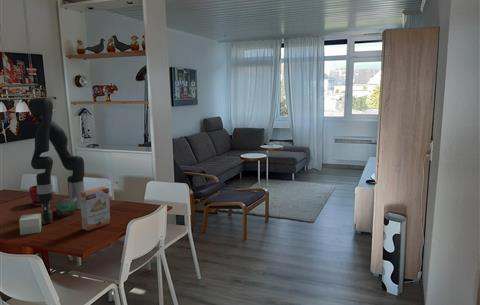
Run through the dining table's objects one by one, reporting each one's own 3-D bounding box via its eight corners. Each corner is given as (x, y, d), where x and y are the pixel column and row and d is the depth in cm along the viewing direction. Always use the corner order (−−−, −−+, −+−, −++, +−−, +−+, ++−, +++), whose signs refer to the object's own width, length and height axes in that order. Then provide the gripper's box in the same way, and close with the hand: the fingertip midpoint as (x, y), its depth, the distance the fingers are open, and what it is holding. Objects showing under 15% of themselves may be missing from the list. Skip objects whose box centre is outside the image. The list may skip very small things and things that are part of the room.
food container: (55, 218, 210) (54, 202, 208) (55, 215, 215) (54, 199, 213) (78, 215, 215) (77, 199, 214) (77, 212, 221) (76, 196, 219)
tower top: (41, 220, 197) (41, 213, 196) (39, 225, 188) (39, 218, 188) (22, 222, 193) (22, 215, 192) (19, 228, 185) (19, 220, 184)
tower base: (41, 227, 197) (41, 220, 196) (40, 233, 189) (39, 225, 188) (22, 229, 193) (21, 222, 193) (20, 235, 185) (19, 228, 184)
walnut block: (52, 219, 207) (51, 209, 206) (52, 222, 203) (51, 212, 202) (42, 221, 205) (41, 210, 204) (42, 223, 200) (41, 213, 199)
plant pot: (57, 202, 239) (56, 185, 238) (37, 208, 228) (35, 189, 227) (46, 199, 246) (45, 182, 244) (26, 204, 235) (25, 186, 233)
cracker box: (88, 231, 190) (85, 193, 186) (81, 229, 193) (79, 191, 190) (111, 224, 201) (109, 187, 198) (104, 221, 205) (102, 186, 201)
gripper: (51, 194, 196) (54, 223, 199) (52, 188, 209) (55, 216, 212) (36, 195, 193) (38, 226, 196) (38, 189, 206) (40, 217, 208)
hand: (47, 220), depth 204 cm, fingers closed on walnut block, 5 cm apart
